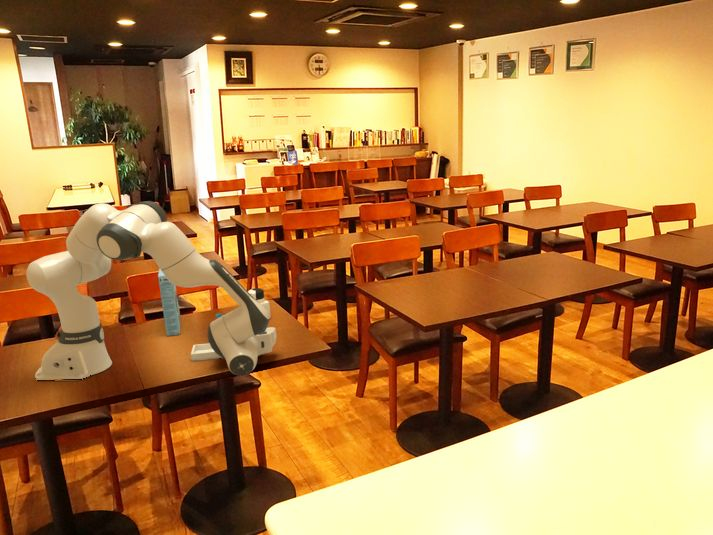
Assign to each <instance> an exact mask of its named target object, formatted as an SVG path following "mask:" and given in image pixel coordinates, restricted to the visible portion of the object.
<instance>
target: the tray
mask: <svg viewBox="0 0 713 535" xmlns="http://www.w3.org/2000/svg"><path fill="white" fill-rule="evenodd" d="M219 358H221V359H224V358H223V357H221V356H219V355H218V354H217V353H216V352H215V351H214V350H213V349H212V348H211V345H210V343H209V342H208V343H200V344H198V343H197V344H193V346H192V348H191V352H190V359H191V362H197V361H199V362H200V361H207V360H218V359H219Z"/></svg>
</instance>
